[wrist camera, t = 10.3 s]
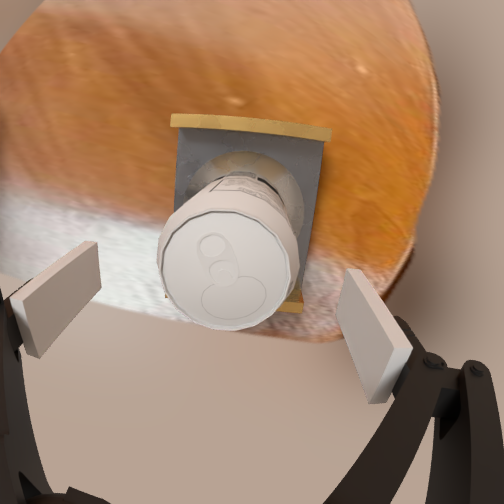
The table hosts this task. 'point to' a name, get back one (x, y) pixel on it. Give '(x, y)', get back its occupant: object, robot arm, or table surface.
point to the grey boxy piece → (255, 167)
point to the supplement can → (229, 253)
